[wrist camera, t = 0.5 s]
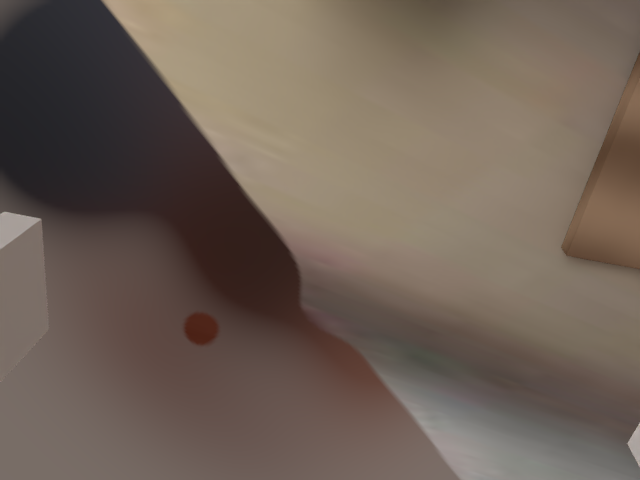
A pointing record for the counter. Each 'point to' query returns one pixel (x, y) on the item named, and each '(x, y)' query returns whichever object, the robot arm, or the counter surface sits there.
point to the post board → (613, 191)
